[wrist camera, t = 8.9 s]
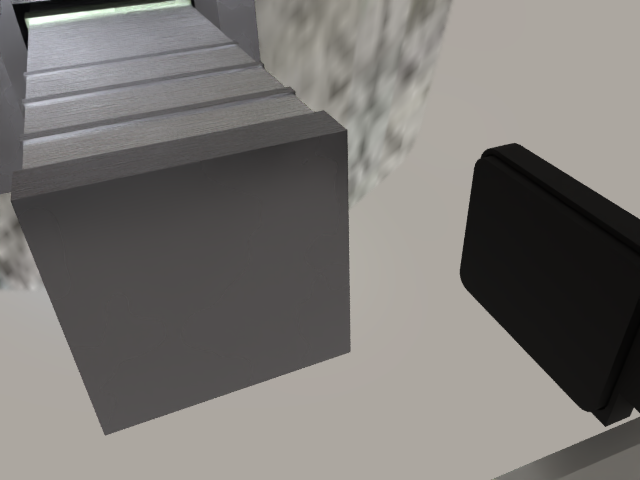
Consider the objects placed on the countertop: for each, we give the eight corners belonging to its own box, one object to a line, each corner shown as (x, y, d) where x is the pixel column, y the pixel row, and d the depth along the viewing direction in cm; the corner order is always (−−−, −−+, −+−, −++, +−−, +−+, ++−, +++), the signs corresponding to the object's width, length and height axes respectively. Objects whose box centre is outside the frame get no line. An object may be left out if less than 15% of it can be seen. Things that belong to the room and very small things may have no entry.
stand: (225, -179, 28) (320, -204, 18) (258, 127, 37) (333, 214, 27) (-159, -169, 23) (-291, -194, 14) (-13, 181, 32) (-33, 308, 23)
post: (166, -22, 23) (347, 129, 9) (188, 103, 26) (350, 352, 12) (26, -6, 21) (10, 200, 8) (67, 125, 24) (105, 435, 11)
